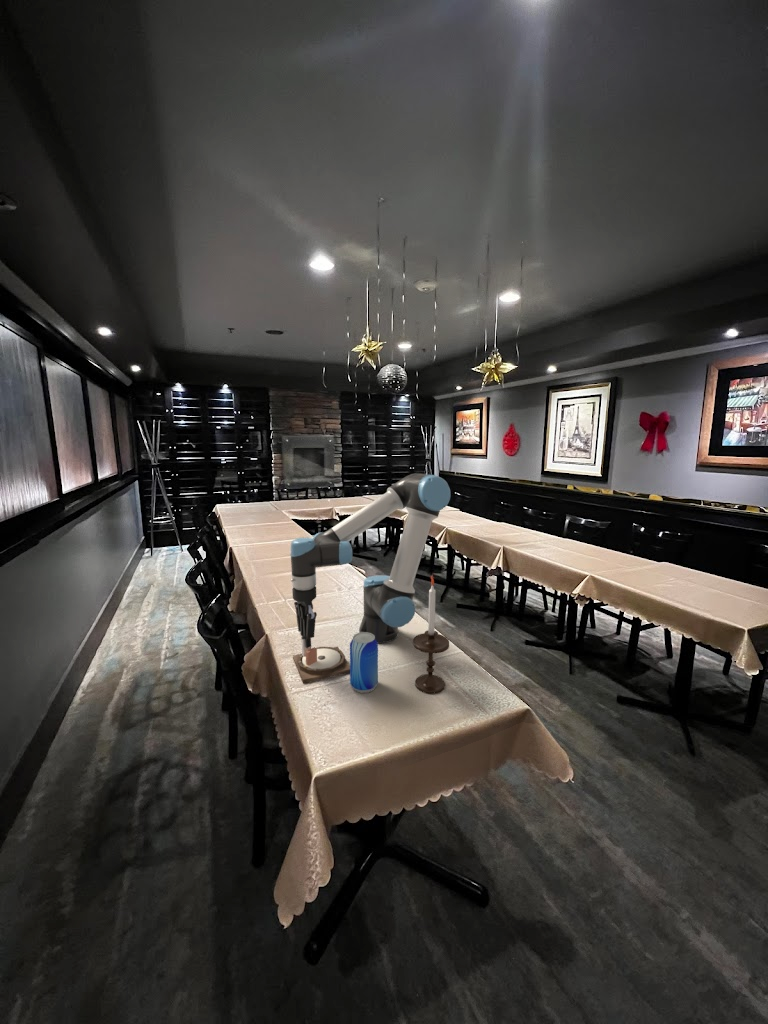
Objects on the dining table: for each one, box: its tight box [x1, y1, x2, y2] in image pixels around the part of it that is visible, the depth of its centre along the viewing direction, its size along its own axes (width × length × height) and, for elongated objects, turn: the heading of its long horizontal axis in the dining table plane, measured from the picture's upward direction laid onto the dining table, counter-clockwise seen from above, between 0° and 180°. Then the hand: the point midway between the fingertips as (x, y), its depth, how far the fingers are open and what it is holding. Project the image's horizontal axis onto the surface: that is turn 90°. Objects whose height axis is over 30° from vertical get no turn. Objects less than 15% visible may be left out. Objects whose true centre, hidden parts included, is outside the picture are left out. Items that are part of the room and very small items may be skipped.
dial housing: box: [292, 646, 350, 684], centre depth 134 cm, size 16×16×3 cm
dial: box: [302, 647, 341, 669], centre depth 134 cm, size 13×13×6 cm
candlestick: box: [412, 574, 450, 695], centre depth 121 cm, size 11×11×35 cm
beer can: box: [349, 632, 379, 694], centre depth 121 cm, size 8×8×16 cm
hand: (306, 654), depth 133 cm, fingers closed
